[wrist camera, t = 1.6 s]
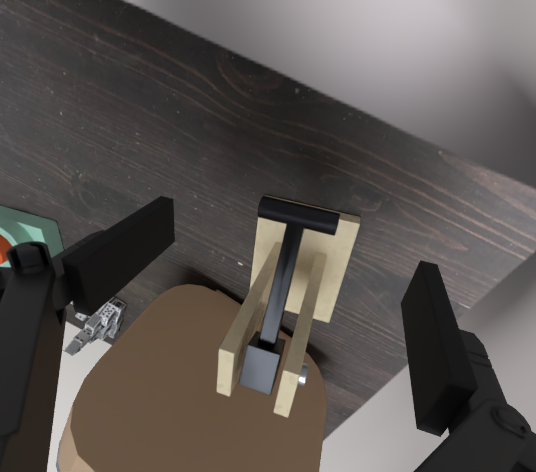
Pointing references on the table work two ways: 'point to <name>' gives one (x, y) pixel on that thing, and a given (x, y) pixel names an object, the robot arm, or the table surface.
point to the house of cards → (98, 325)
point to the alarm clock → (187, 401)
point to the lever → (280, 288)
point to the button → (4, 249)
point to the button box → (29, 230)
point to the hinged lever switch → (288, 299)
